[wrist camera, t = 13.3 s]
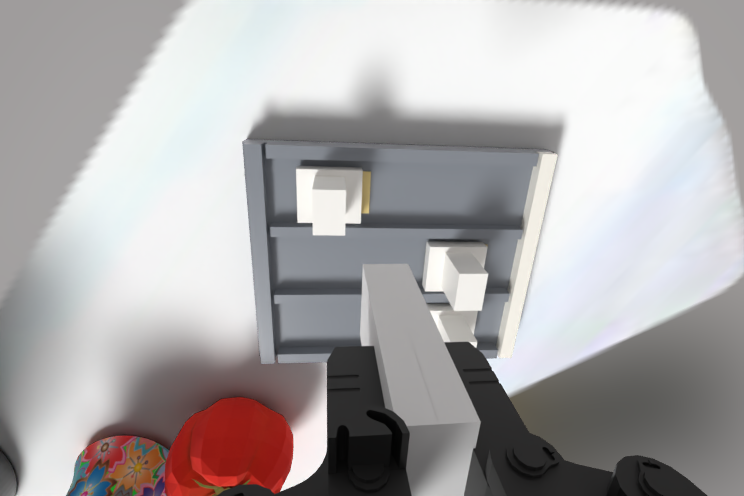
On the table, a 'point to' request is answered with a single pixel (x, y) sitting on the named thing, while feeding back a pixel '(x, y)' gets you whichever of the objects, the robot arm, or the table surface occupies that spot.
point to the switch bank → (388, 235)
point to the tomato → (229, 450)
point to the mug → (120, 468)
